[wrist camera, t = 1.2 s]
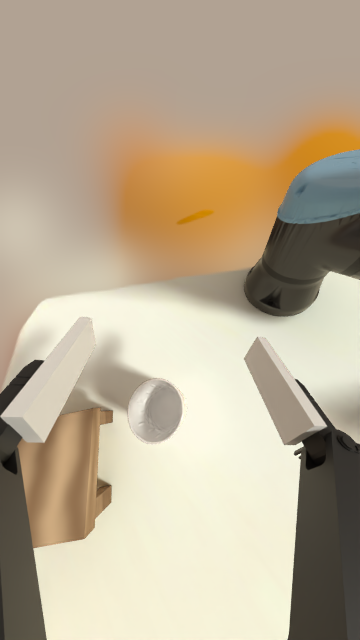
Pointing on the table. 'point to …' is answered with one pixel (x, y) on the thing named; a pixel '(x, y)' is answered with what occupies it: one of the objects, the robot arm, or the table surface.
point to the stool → (64, 478)
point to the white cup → (156, 411)
